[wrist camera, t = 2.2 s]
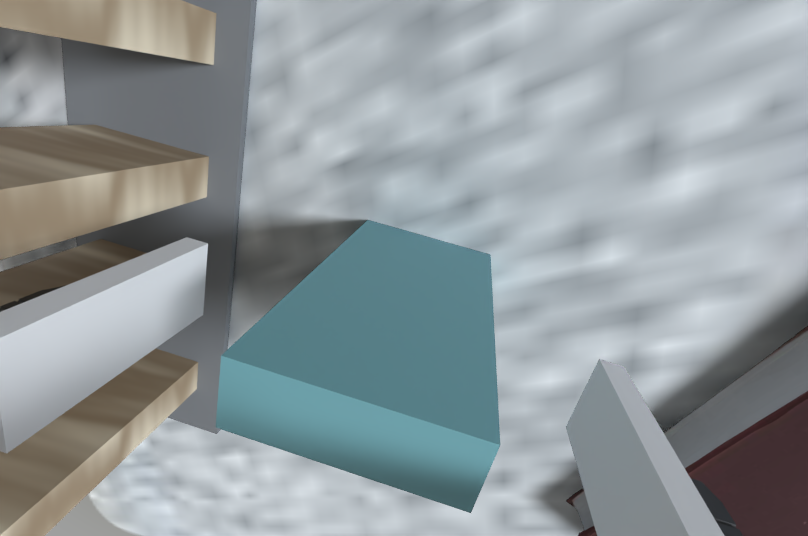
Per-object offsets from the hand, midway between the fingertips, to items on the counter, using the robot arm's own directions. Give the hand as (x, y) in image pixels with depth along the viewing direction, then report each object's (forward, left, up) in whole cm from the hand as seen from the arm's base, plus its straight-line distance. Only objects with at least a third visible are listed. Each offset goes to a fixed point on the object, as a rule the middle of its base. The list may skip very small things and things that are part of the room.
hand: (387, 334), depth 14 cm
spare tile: (0, 0, -7) cm, 7 cm away
